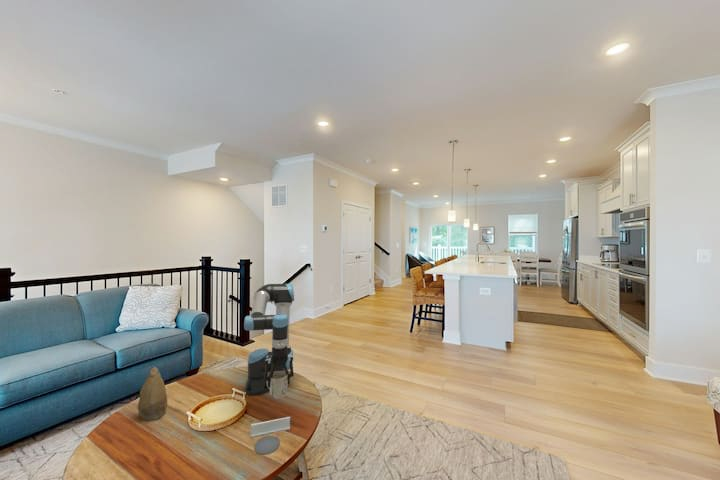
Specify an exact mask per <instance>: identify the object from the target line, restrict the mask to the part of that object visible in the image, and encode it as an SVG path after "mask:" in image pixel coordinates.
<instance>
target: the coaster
mask: <svg viewBox="0 0 720 480" xmlns="http://www.w3.org/2000/svg"><path fill="white" fill-rule="evenodd" d="M280 446H281V441H280V439H279V437H277V436H275V435H267V436H263V437H261V438H259V439H258V440H257V441H256V442H255V444H254V446H253V450H254V452H256V454H258V455H262V456H263V455H265V456H266V455H268V454H269V455H270V454H272V453H274V452H275V451H277V450H278V449H279V447H280Z"/></svg>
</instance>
